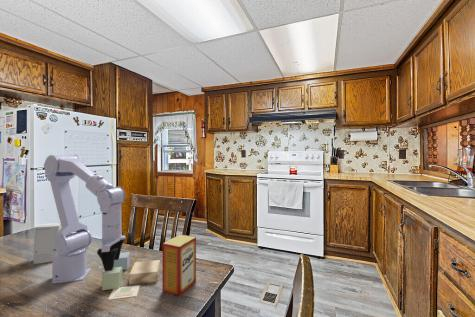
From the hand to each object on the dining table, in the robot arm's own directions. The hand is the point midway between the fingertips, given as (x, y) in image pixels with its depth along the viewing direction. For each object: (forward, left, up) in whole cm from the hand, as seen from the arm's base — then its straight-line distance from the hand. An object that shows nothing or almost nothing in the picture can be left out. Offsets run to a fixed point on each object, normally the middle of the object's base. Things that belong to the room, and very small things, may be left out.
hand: (112, 264), depth 77 cm
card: (+5, -5, -7) cm, 10 cm away
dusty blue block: (0, +13, -8) cm, 15 cm away
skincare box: (-31, +27, -8) cm, 42 cm away
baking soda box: (+22, -5, -8) cm, 24 cm away
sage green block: (0, 0, -7) cm, 7 cm away
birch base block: (+10, +4, -8) cm, 13 cm away
